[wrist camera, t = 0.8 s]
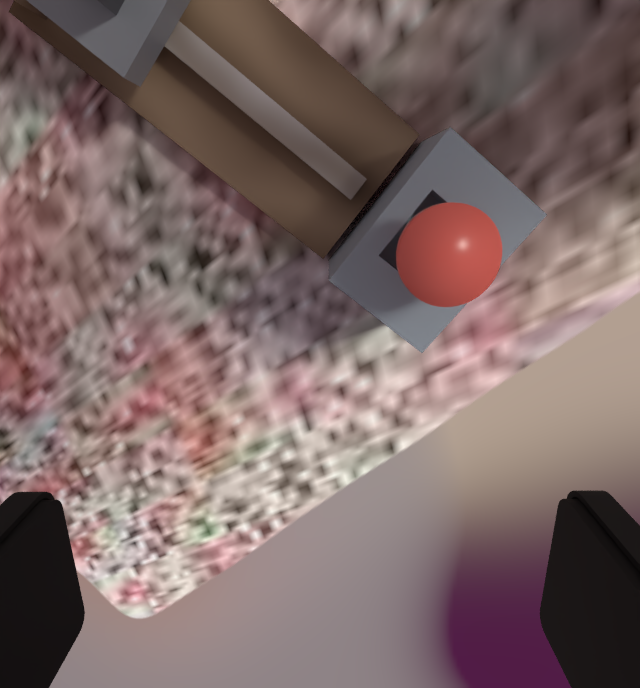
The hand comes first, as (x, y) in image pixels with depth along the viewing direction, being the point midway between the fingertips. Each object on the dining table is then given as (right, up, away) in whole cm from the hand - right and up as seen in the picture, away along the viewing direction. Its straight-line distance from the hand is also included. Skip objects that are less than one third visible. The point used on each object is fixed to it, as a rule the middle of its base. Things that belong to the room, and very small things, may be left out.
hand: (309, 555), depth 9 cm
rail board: (-6, +21, +22) cm, 31 cm away
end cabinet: (+7, +12, +24) cm, 28 cm away
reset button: (+7, +9, +17) cm, 21 cm away
